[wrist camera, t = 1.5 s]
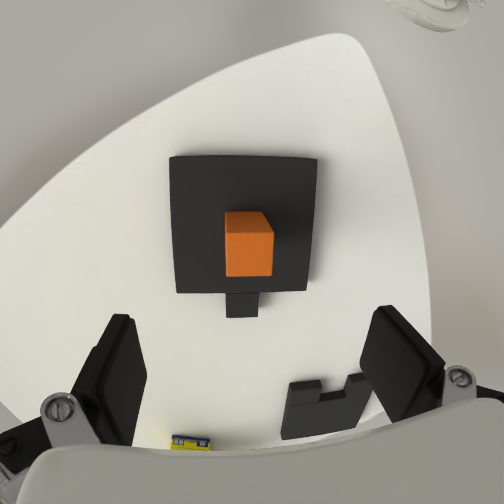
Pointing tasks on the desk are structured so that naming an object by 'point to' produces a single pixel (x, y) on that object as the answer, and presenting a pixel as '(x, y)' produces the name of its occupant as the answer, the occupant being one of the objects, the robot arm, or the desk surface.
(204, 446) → the supplement box
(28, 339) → the desk surface
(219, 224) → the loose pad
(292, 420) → the notched pad
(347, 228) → the desk surface
